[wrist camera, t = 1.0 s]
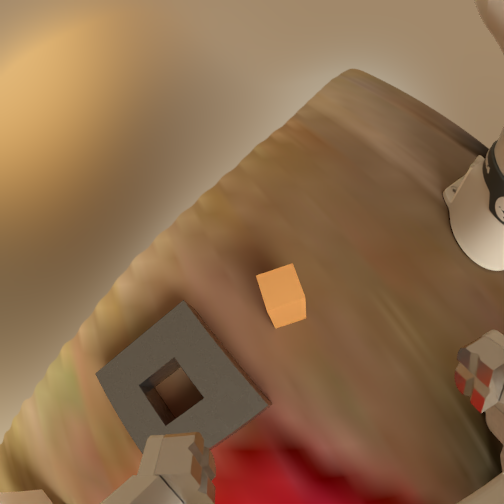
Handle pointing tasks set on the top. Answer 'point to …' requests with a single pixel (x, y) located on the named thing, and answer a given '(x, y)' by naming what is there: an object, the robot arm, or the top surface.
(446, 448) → the top surface
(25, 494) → the corner bracket
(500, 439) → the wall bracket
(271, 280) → the square block
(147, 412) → the square hole plate
